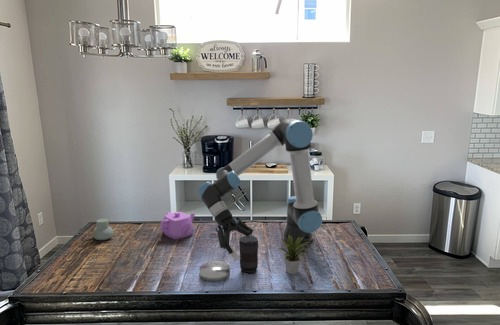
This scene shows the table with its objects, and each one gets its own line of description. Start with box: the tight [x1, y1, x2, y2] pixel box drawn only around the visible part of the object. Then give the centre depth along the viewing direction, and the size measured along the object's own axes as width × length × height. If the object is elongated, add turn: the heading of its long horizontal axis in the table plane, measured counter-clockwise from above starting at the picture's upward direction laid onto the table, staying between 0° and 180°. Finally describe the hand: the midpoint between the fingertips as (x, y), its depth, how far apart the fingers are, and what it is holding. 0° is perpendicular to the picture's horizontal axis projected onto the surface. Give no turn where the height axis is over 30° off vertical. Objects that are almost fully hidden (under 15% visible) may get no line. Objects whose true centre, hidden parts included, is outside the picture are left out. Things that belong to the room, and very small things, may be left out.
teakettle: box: [159, 211, 196, 241], centre depth 204 cm, size 17×17×12 cm
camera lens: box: [238, 235, 259, 275], centre depth 164 cm, size 8×8×15 cm
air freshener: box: [92, 218, 115, 241], centre depth 199 cm, size 11×8×10 cm
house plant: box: [278, 235, 311, 275], centre depth 162 cm, size 14×14×16 cm
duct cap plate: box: [199, 260, 231, 283], centre depth 162 cm, size 13×13×3 cm
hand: (247, 253), depth 163 cm, fingers open, 13 cm apart
